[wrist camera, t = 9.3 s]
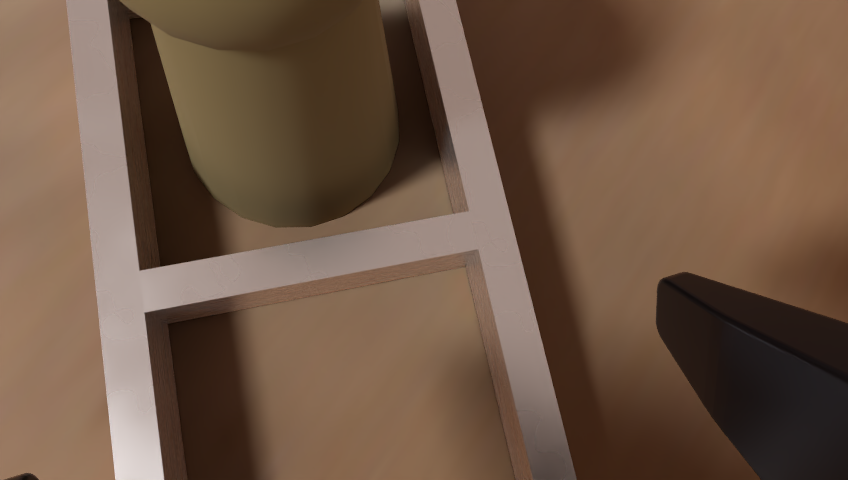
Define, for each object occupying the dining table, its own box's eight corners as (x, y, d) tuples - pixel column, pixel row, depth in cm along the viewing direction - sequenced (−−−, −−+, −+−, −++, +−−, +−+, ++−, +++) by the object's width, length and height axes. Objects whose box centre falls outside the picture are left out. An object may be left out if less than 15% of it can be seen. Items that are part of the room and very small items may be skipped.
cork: (294, -7, 20) (221, -467, 10) (442, 125, 20) (538, -213, 9) (137, 126, 19) (-149, -245, 8) (293, 273, 18) (199, 76, 8)
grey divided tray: (585, 608, 17) (615, 632, 15) (171, 721, 15) (144, 764, 13) (425, -49, 21) (431, -95, 19) (89, -7, 20) (60, -53, 18)
